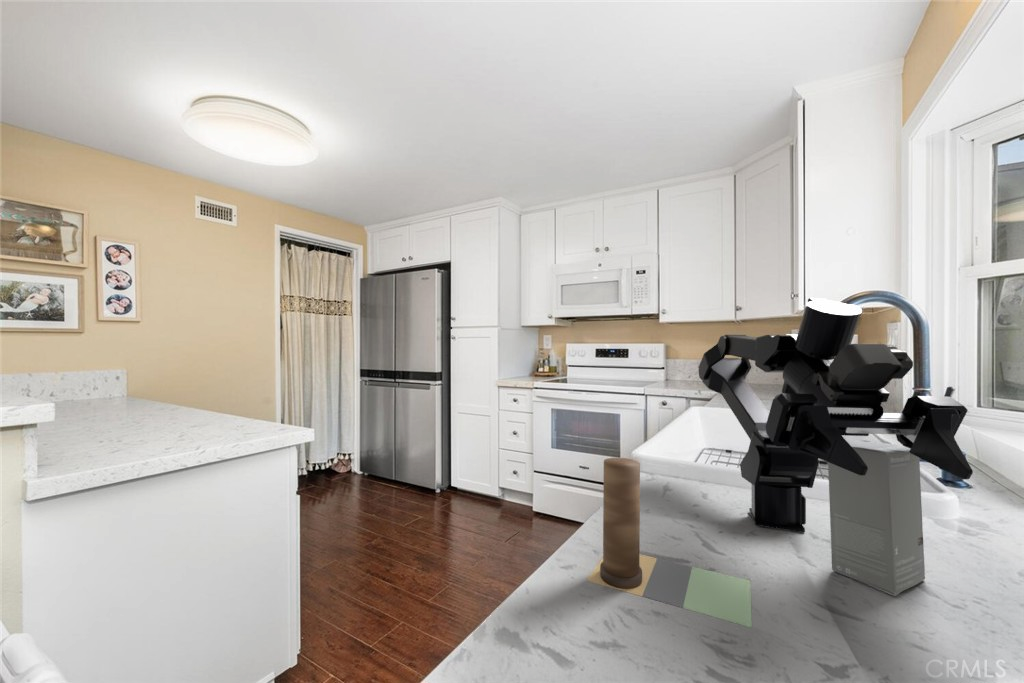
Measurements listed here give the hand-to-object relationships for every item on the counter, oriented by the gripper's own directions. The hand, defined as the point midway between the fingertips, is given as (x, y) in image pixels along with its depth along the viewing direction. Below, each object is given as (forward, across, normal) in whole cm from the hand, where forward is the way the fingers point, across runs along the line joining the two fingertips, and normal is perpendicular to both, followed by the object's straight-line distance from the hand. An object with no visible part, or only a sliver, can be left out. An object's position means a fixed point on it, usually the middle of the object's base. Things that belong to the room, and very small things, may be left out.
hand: (916, 473), depth 40 cm
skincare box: (-3, +4, +19) cm, 20 cm away
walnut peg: (+2, -27, +15) cm, 31 cm away
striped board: (+3, -22, +16) cm, 27 cm away
